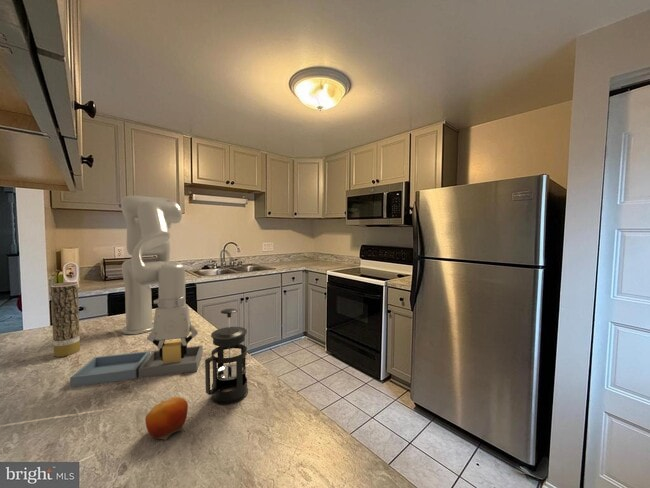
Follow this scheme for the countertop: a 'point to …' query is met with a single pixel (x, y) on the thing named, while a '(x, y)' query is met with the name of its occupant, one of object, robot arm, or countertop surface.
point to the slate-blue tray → (110, 369)
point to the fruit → (167, 417)
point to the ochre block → (172, 351)
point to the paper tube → (65, 318)
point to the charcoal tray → (171, 363)
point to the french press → (227, 365)
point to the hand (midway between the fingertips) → (173, 357)
